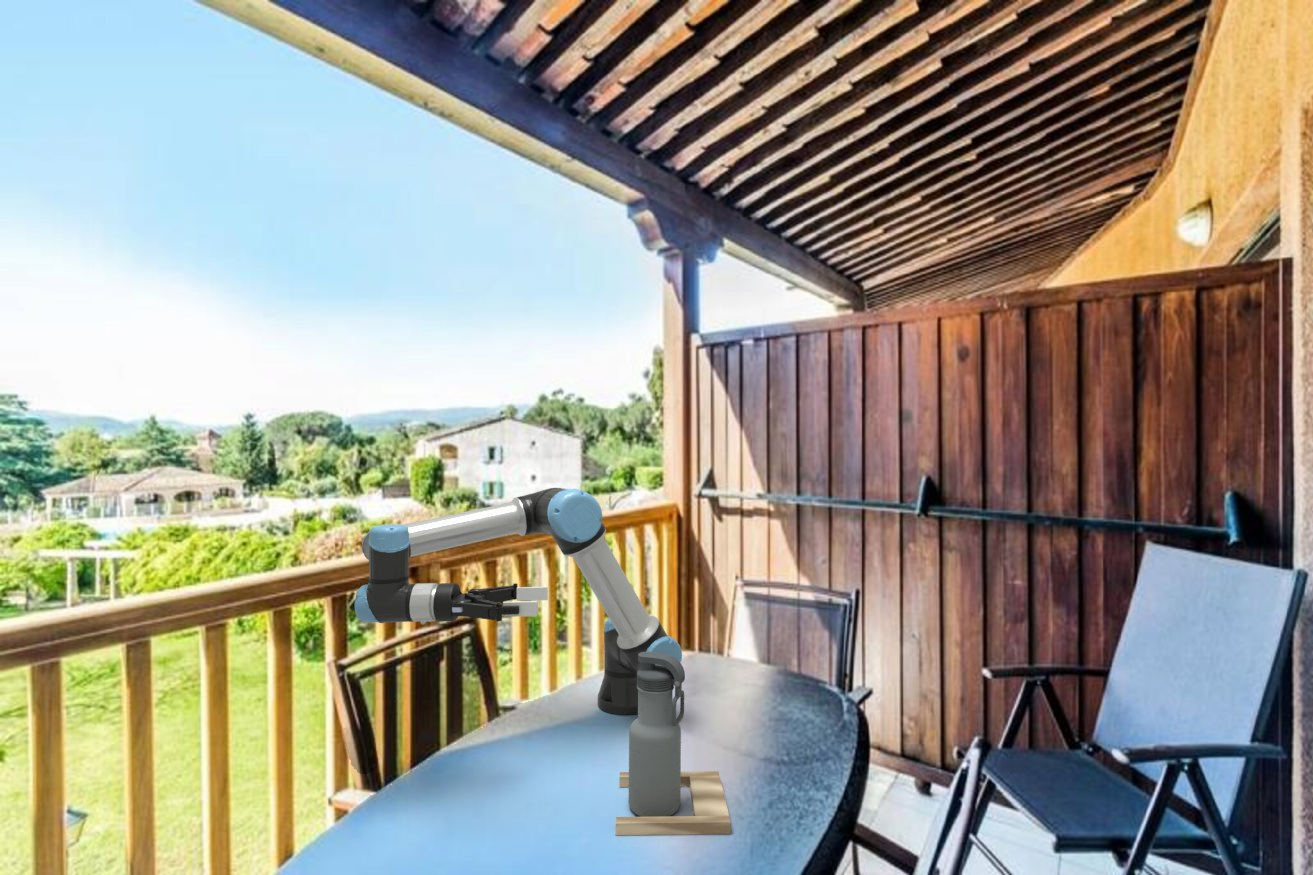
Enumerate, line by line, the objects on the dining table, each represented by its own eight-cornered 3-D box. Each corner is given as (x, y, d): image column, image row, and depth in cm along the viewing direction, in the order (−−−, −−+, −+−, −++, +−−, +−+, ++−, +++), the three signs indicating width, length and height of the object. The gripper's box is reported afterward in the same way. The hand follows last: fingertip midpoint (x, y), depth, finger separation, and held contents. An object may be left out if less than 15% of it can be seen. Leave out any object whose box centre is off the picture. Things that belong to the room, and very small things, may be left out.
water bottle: (688, 798, 121) (689, 650, 122) (673, 825, 111) (675, 666, 112) (638, 788, 124) (640, 645, 125) (620, 815, 115) (622, 660, 116)
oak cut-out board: (619, 782, 126) (619, 772, 127) (718, 781, 127) (718, 771, 127) (615, 835, 108) (615, 823, 109) (730, 833, 109) (730, 822, 109)
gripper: (455, 606, 139) (551, 604, 140) (415, 638, 114) (532, 636, 115) (455, 572, 140) (551, 571, 140) (415, 597, 115) (532, 595, 115)
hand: (542, 600), depth 128 cm, fingers open, 13 cm apart
